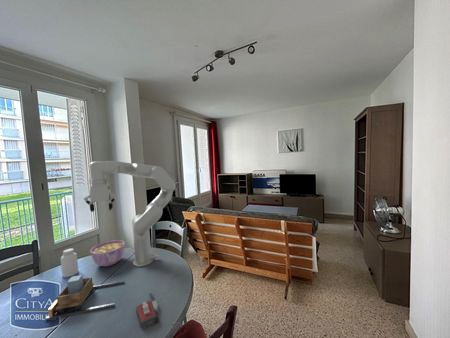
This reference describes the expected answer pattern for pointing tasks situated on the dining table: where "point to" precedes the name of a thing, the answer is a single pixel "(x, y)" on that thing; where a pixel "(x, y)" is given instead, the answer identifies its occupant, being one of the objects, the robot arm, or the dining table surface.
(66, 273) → the pill bottle
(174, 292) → the dining table surface
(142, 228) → the robot arm
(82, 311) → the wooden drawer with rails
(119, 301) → the dining table surface
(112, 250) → the bowl of food
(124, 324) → the dining table surface
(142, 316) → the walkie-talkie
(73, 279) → the block
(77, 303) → the small wooden crate
